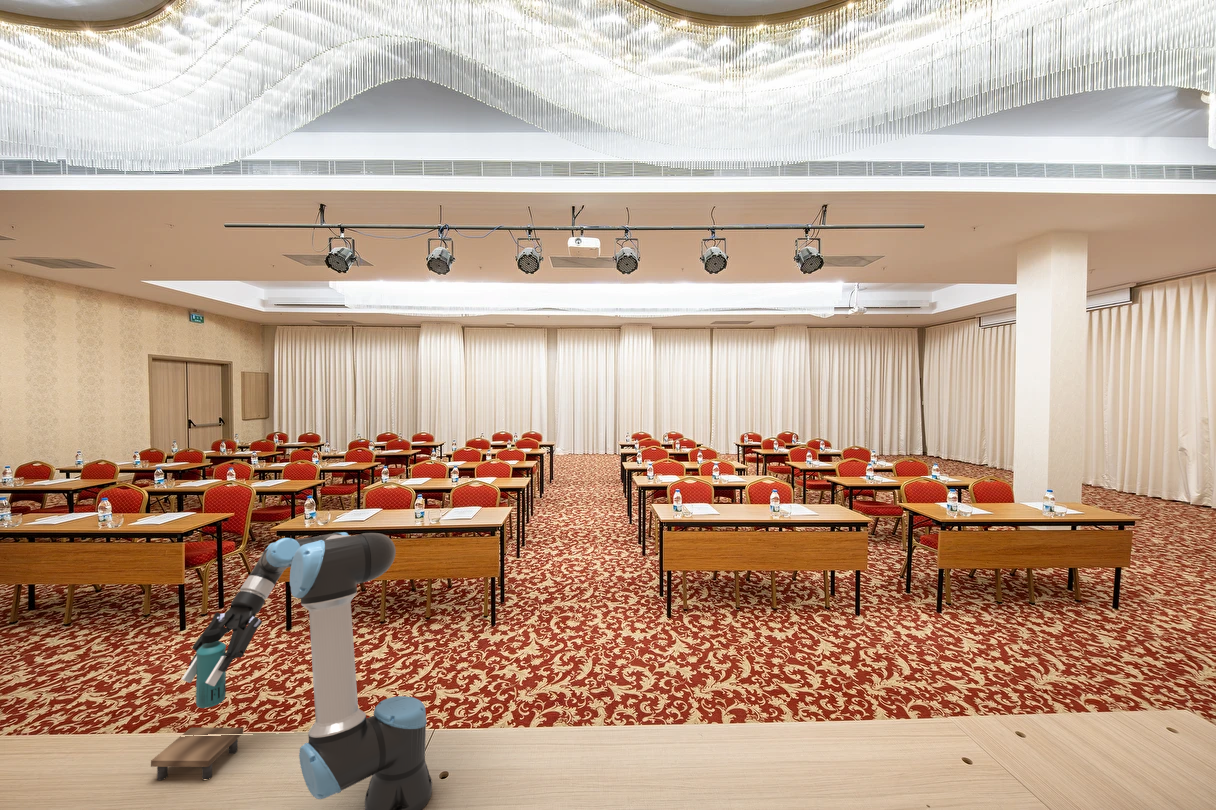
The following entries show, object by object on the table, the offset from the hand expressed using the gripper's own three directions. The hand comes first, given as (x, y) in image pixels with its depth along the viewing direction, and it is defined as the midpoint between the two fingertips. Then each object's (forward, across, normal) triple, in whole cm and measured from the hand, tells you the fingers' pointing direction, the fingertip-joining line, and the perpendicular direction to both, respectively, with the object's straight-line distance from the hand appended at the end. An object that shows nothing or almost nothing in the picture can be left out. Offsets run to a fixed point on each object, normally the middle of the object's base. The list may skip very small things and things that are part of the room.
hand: (198, 682), depth 134 cm
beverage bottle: (+4, 0, -9) cm, 9 cm away
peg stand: (+15, +2, -18) cm, 23 cm away
